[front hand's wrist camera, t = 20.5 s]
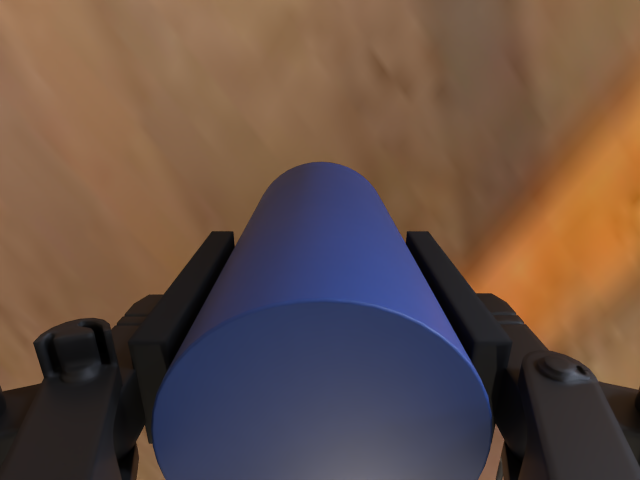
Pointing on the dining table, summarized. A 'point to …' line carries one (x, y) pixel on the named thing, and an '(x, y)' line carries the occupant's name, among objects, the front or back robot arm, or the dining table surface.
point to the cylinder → (321, 353)
